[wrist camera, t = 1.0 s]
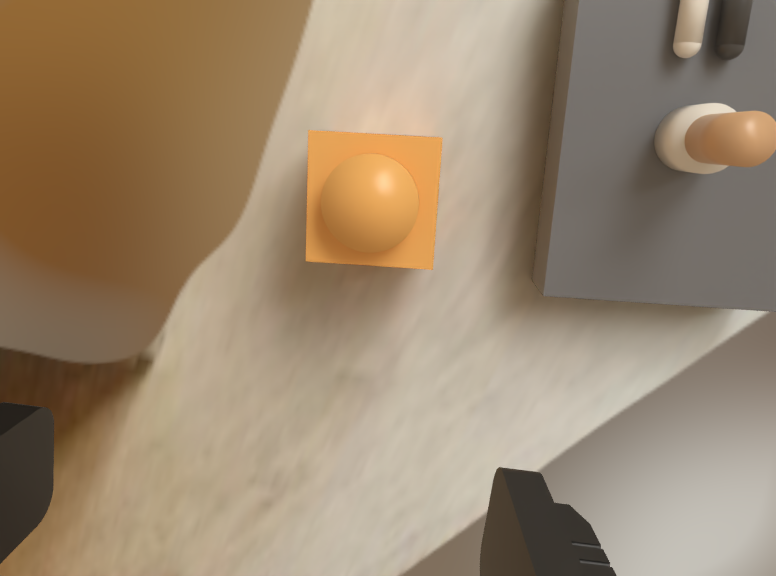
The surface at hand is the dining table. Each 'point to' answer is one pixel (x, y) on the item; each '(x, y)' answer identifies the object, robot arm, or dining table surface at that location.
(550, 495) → the robot arm
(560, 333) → the dining table surface
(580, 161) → the button control panel
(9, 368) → the dining table surface
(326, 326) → the dining table surface
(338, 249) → the orange domed cube
